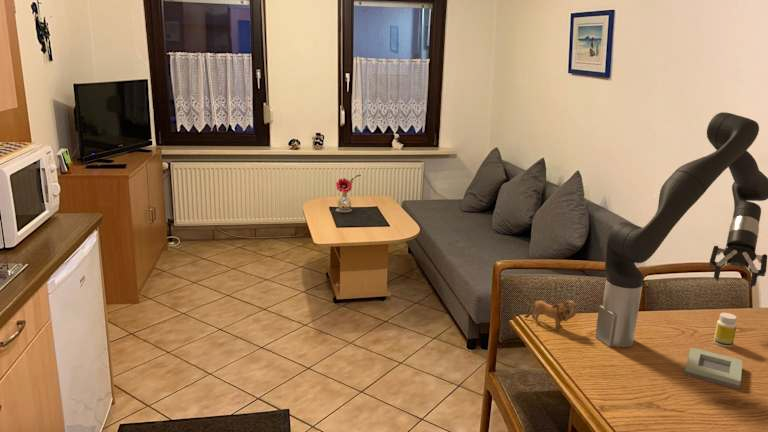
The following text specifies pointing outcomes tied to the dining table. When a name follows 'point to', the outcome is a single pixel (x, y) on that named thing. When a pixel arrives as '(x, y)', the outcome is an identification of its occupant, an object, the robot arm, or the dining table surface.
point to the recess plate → (714, 368)
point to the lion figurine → (554, 311)
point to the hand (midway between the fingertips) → (734, 283)
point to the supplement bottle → (725, 330)
